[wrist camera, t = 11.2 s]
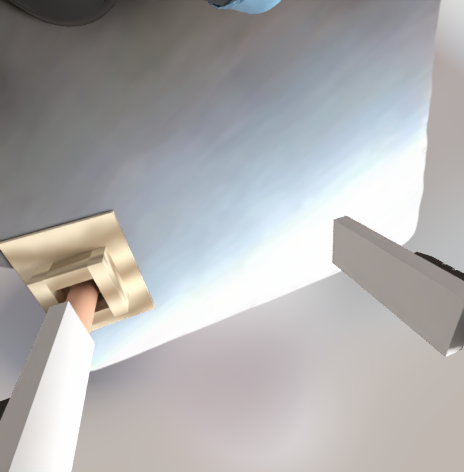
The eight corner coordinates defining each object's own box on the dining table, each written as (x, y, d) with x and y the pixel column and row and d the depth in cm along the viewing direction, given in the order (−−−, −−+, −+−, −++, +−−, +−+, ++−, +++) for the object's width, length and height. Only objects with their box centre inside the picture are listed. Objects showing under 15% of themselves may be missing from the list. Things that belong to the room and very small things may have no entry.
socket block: (0, 241, 39) (-22, 262, 33) (113, 210, 41) (109, 225, 36) (66, 335, 48) (58, 363, 43) (154, 304, 51) (156, 327, 46)
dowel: (69, 275, 43) (36, 355, 29) (94, 267, 43) (74, 341, 30) (80, 294, 45) (54, 378, 31) (105, 286, 45) (90, 364, 32)
